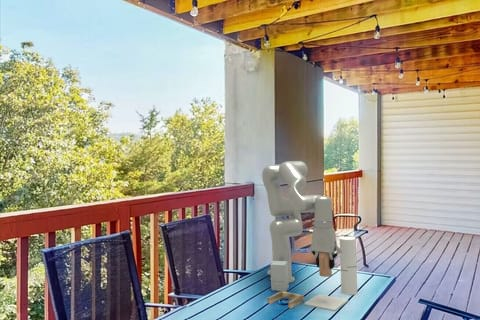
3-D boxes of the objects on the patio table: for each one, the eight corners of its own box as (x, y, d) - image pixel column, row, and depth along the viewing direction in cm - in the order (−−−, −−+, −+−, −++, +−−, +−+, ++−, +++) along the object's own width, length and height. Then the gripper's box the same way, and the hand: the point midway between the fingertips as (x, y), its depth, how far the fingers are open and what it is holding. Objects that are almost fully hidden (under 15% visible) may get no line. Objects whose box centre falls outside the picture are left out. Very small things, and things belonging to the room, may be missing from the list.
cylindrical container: (358, 295, 178) (356, 239, 178) (341, 294, 179) (339, 239, 179) (356, 290, 185) (354, 236, 185) (341, 289, 186) (339, 236, 186)
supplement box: (289, 286, 193) (288, 261, 193) (286, 291, 186) (285, 264, 186) (274, 285, 195) (273, 260, 196) (270, 290, 188) (269, 264, 189)
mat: (304, 304, 168) (304, 303, 168) (318, 295, 179) (318, 294, 179) (334, 311, 160) (334, 309, 160) (348, 301, 171) (348, 299, 171)
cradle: (268, 303, 171) (267, 297, 171) (281, 296, 180) (281, 290, 180) (291, 308, 164) (290, 302, 164) (303, 301, 173) (303, 295, 173)
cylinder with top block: (316, 276, 168) (315, 252, 168) (322, 272, 173) (321, 250, 173) (327, 278, 165) (326, 254, 165) (333, 274, 170) (332, 251, 170)
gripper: (302, 225, 172) (303, 266, 172) (339, 227, 162) (340, 272, 161) (310, 222, 178) (311, 263, 178) (346, 225, 168) (347, 268, 167)
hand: (325, 266), depth 170 cm, fingers closed on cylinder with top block, 5 cm apart
